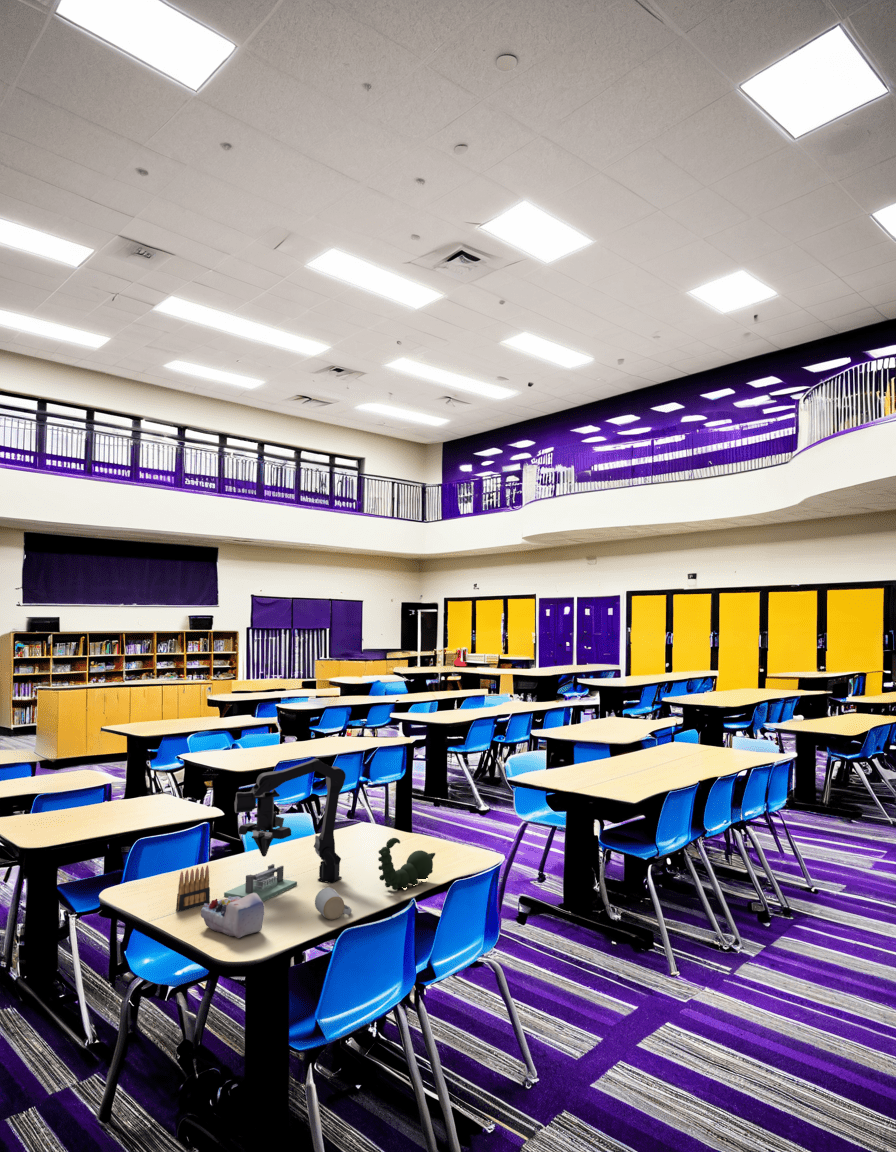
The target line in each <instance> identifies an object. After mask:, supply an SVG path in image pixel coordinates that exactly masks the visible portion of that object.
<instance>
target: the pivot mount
mask: <svg viewBox="0 0 896 1152" xmlns="http://www.w3.org/2000/svg"><path fill="white" fill-rule="evenodd" d="M271 868H275V864H274V863H272V864H270V865H267V870H269V869H271ZM276 868H277V872H276V876H277V882H278V883H279V882H281V881H283V879H284V865H279V866H277V867H276ZM270 875H272V876H275V873H272V874H270Z"/></svg>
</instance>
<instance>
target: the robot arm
mask: <svg viewBox="0 0 896 1152" xmlns="http://www.w3.org/2000/svg"><path fill="white" fill-rule="evenodd" d="M315 772H317V773H320V774H321V775H323V776H325V783H326V792H327V793H326V799H325V800H326V801H325V806H324V807H325V808H324V813H323V820H322V825H321V832H320V833H319V835H315V838H314V845H313V848H314V851H315V854H317V855H318V857H319V858H320V860H321V861H320V865H319V868H318V870H319V871H318V875H319V876H318V877H319V878H317V881H318V882H323V881H324V882H325V883H329V882H331V883H330V884H333V883H335V882H337V881H339V880H341V879H342V878H343V877H342V876H340V868H341V867H340V863H341V861H342V858H341V857H340V856H339V855H338V853H336V843H335V834H334V831H335V825H336V818H337V811H338V804H339V799H340V798H339V797H340V792H341V791H342V789H343V787H344V784H345V781H346V777H347V775H346V772H345V771H344V770H343V768H340V767H338V766H336V765H335V766H333V765H332V766H330V765H328V764H326V763H325V762H322V760H320V759H318V758H313V759H311V760H309V761H306V762H302V763H300V764H297V765H294V766H291V767H288V768H285V769H282V770H275V771H274V770H273V771H267V772H262V773H260V774H259V775H258V776H257V778H256V783H255V784H254V785H253V787H252V788H251V790H250V791H246V792H245V791H244V792H242V791H237V792H236V793H235V800H234V812H235V814H241V813H251V812H253V810H255V809H256V813H255V814H254V818H256V823H253V822H247V823H244V824H241V825H239V828H238V835H243V836H245V835H247V834H248V833H252V835H251V839H252V840H254V842H255V844H256V846H257V848H258V850H259V853H260V854H261V856H262V857H263V858H264V857H267V854H268V852H269V849H270V846H271V844H272V842H273V840H274V839H276V840H284V839H286V838H288V837H290V836H292V829H291V828H290V826H283V825H284V822H285V821H284V820H285V817H280V816H277V812H276V811H274V810H275V809H274V807H275V802H274V801H275V800H274V799H275V798H279V797H280V794H279V792H277V790H276V789H277V788H279V787H280V786H281V785H283V784H284V783H286V782H289V781H291V780H295V779H298V778H300V777H301V778H302V777H304V776H306V775H309V774H311V773H312V774H313V773H315ZM340 878H341V879H340ZM338 879H339V880H338ZM336 880H337V881H336ZM334 881H335V882H334Z"/></svg>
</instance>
